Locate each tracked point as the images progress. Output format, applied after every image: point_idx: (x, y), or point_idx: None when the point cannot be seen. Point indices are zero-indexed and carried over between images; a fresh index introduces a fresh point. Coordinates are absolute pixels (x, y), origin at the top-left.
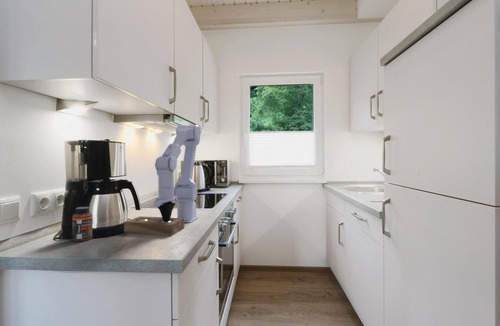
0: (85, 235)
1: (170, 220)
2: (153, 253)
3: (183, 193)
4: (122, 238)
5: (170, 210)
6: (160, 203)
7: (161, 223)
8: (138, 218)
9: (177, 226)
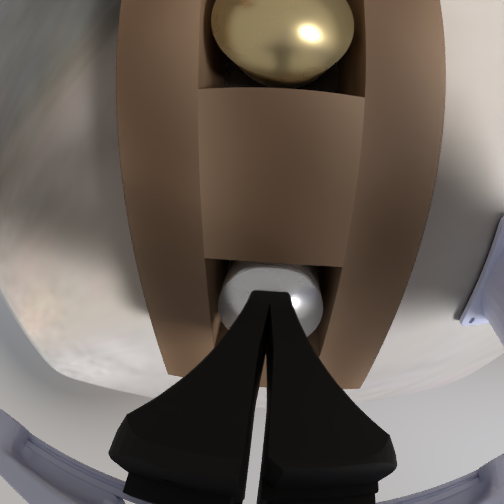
0: None
1: (306, 331)
2: (30, 314)
3: None
4: (62, 66)
5: (251, 438)
6: (70, 479)
7: (169, 308)
8: None
9: None
